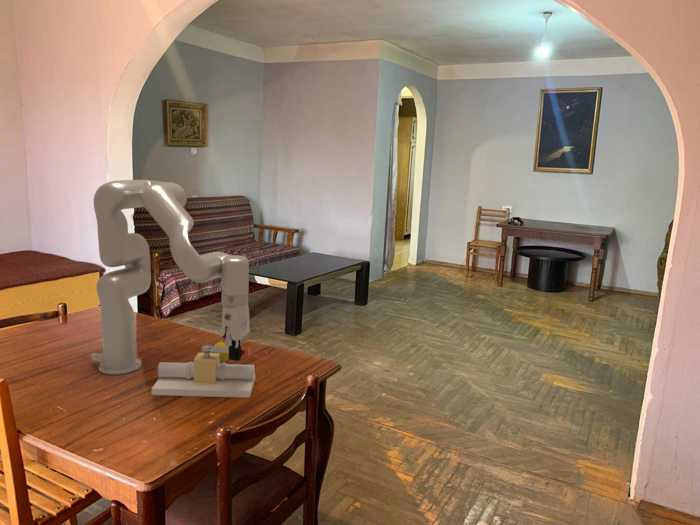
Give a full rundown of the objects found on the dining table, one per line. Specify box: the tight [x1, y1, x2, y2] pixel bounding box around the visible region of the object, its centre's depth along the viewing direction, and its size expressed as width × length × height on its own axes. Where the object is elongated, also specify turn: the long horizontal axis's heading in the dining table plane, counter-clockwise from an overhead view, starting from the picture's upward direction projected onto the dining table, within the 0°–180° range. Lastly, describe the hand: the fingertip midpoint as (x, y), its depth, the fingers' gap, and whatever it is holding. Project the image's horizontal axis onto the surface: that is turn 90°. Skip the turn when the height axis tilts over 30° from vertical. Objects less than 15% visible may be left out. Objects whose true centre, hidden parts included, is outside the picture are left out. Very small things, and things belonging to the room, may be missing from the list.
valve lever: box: [201, 344, 251, 357], centre depth 160 cm, size 14×3×2 cm, turn 85°
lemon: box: [211, 341, 229, 364], centre depth 178 cm, size 6×6×8 cm
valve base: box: [151, 352, 256, 399], centre depth 160 cm, size 28×12×10 cm, turn 92°
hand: (235, 359), depth 157 cm, fingers closed
